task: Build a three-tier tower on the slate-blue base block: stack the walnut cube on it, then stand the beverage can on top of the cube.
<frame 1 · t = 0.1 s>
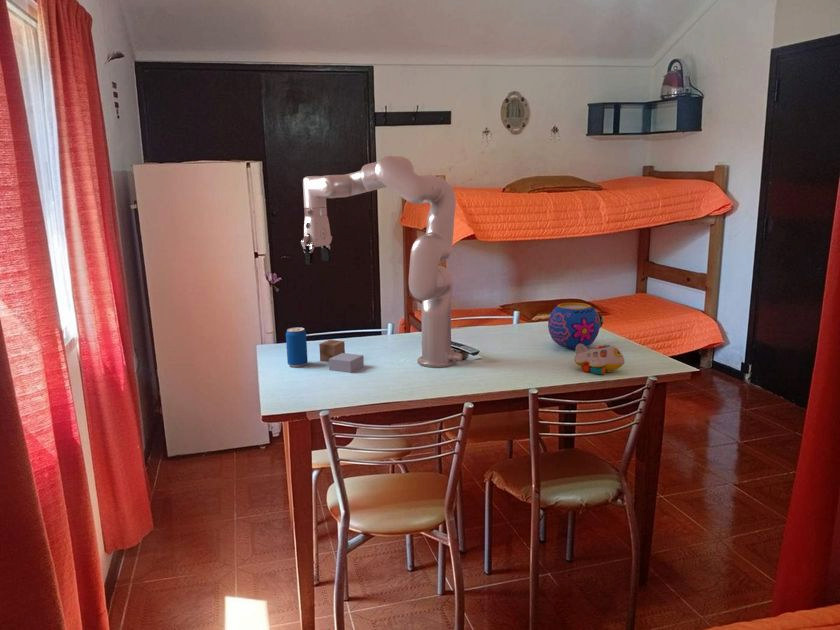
hand: (318, 262, 232), 31 cm above the table, fingers open, 9 cm apart
beverage can: (297, 365, 220), on the table
toy airplane: (598, 371, 207), on the table
walnut cube: (332, 359, 225), on the table
ceramic pot: (573, 347, 235), on the table
base block: (346, 369, 215), on the table
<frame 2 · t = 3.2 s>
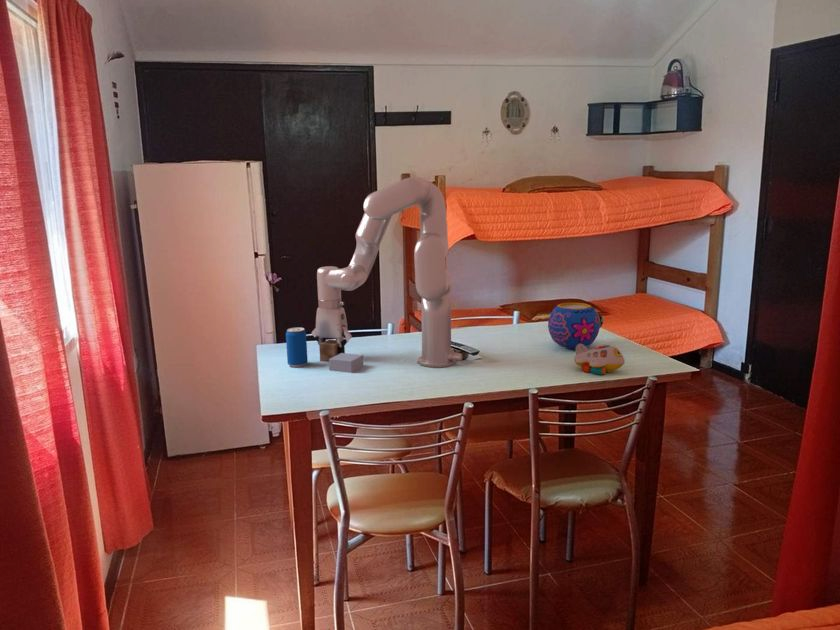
hand: (332, 356, 225), 1 cm above the table, fingers closed on walnut cube, 6 cm apart
walnut cube: (332, 359, 225), on the table, touching gripper
everything else where it was.
when the fingers open (6 cm above the table, at t = 7.4 s): walnut cube drops 1 cm, resting on base block.
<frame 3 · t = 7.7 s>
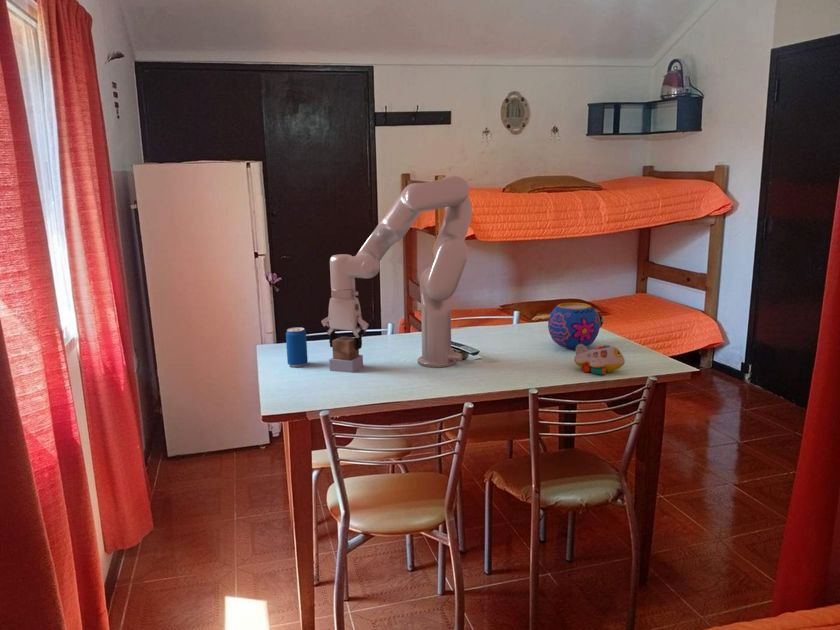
hand: (345, 347, 213), 7 cm above the table, fingers open, 8 cm apart
walnut cube: (346, 357, 214), point 4 cm above the table, touching base block
base block: (346, 369, 215), on the table, touching walnut cube
everything else where it was.
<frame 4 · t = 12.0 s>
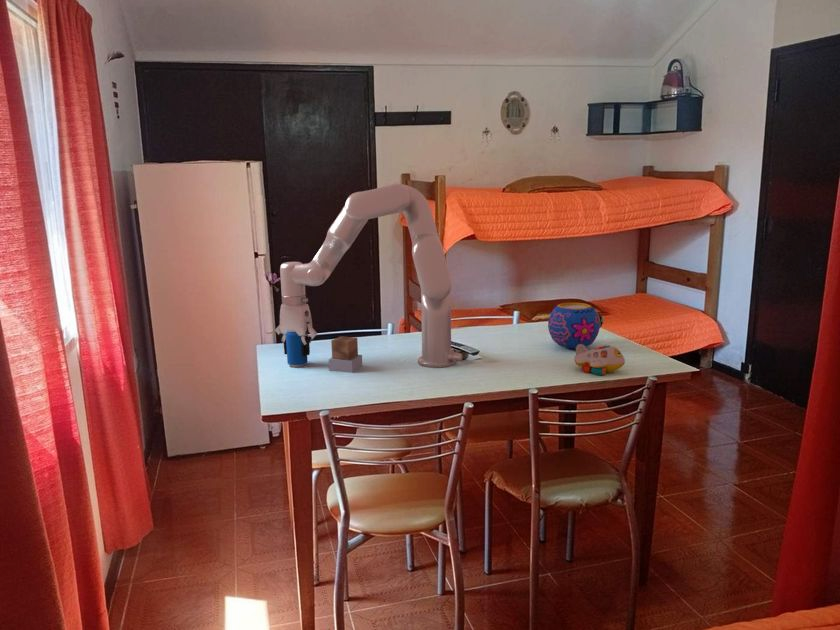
hand: (297, 354, 219), 4 cm above the table, fingers closed on beverage can, 6 cm apart
beverage can: (297, 365, 220), on the table, touching gripper
everything else where it was.
when the fingers open (15 cm above the table, at t = 16.8 s): beverage can drops 1 cm, resting on walnut cube.
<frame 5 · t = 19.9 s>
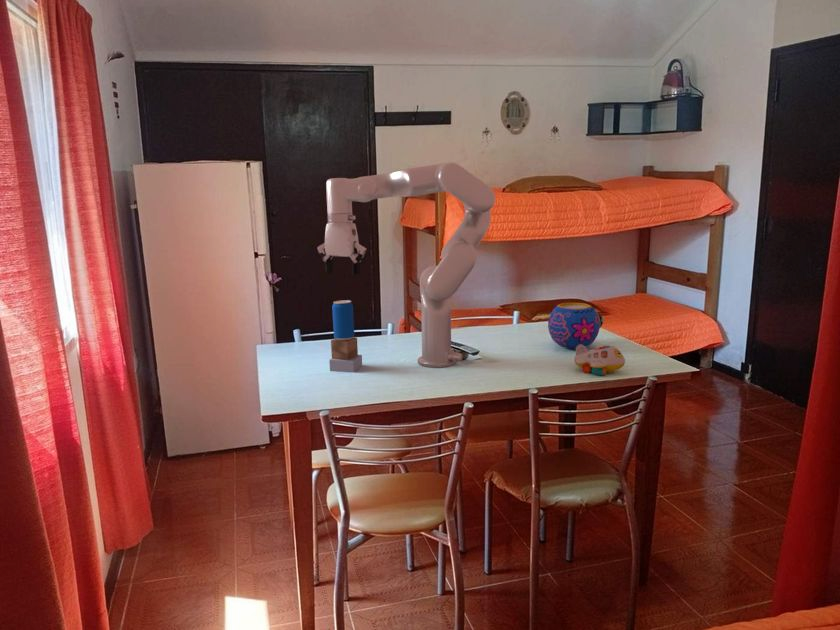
hand: (342, 274, 209), 30 cm above the table, fingers open, 9 cm apart
beverage can: (344, 339, 213), point 9 cm above the table, touching walnut cube
walnut cube: (344, 357, 214), point 4 cm above the table, touching base block, beverage can
everything else where it was.
at the end: walnut cube 0.3 cm off-centre on the base block, point 4.0 cm above the base block's base; beverage can 0.2 cm off-centre on the walnut cube, point 5.9 cm above the walnut cube's base; beverage can touching walnut cube; beverage can tilted 2° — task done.
